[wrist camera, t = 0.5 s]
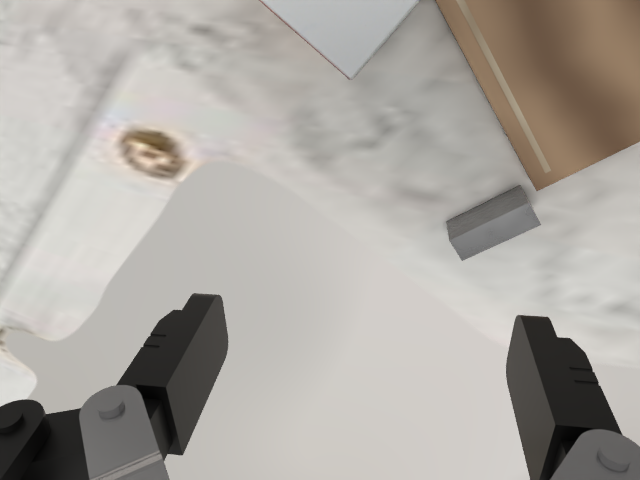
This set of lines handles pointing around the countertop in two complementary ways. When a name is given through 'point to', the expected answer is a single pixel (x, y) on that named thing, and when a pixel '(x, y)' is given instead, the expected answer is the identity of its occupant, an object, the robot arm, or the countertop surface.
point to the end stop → (491, 223)
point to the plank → (555, 76)
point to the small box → (343, 27)
